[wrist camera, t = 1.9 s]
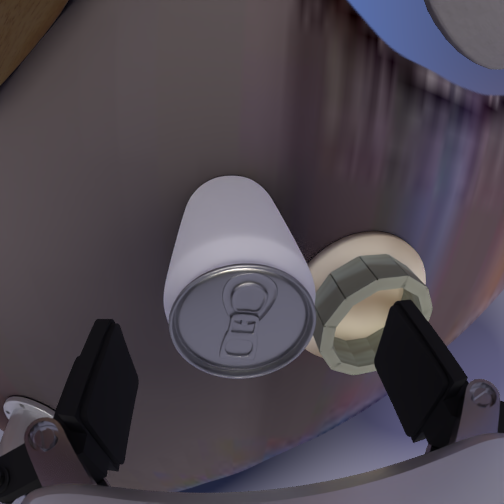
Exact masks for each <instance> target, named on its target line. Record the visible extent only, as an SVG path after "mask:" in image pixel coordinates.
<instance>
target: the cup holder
mask: <svg viewBox="0 0 504 504" xmlns="http://www.w3.org/2000/svg"><path fill="white" fill-rule="evenodd" d="M307 265H308V267H309V269H310V272H311V274H312V277H313V281H314V285H315V294H316V295H315V309H316V326H315V330H314V333H313V336H312V338H311V340H310V342H309V343H308V345H307V347H306V348H305V349H306V350H308V351H309V352H311V353H313V354H314V355H317V356H320V357H323V358H324V360H325V361H326V363H327V364H328V365H329V367H330V368H331V369H332V370H335V371H339V372H343V373H346V374H350V375H358V374H363V373H368V372H373V371H377V370H376V368H375V365H374V358H375V355H376V352H377V349H378V346H379V342H380V339H381V336H382V333H383V330H384V326H385V323H386V319H387V316H388V313H389V309H390V307H391V306H393V305H394V303H395V302H396V301H401V300H412V301H413V303H414V304H415V305H416V306H417V308H418V309H419V310H420V312H421V313H422V314H423V316H424V317H425V318H426V319H427V321H429V318H430V316H431V313H432V309H433V308H432V304H431V299H430V295H429V290H428V288H427V286H426V285H425V283H426V276H425V269H424V265H423V263H422V260H421V258H420V257H419V255H418V253H417V252H416V251H415V250H414V249H413V248H412V247H411V246H410V245H409V244H407V243H406V242H405V241H404V240H403V239H401V238H399V237H397V236H395V235H393V234H390V233H386V232H380V231H368V232H360V233H356V234H352V235H349V236H347V237H344V238H342V239H340V240H338V241H336V242H334V243H332V244H330V245H329V246H327V247H326V248H324V249H323V250H322V251H321V252H319V253H318V254H317V255H316V256H315V257H314V258H313V259H312V260H311V261H310V262H309V263H308V264H307Z"/></svg>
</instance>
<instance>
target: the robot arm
mask: <svg viewBox="0 0 504 504" xmlns="http://www.w3.org/2000/svg"><path fill="white" fill-rule="evenodd" d="M374 365H375V368H376V370H377V372H378V374H379V376H380V379H381V381H382V383H383V385H384V387H385V389H386V391H387V393H388V396H389V397H390V400H391V402H392V404H393V406H394V409H395V410H396V413H397V415H398V417H399V419H400V422H401V424H402V426H403V428H404V431H405V433H406V435H407V436H409V437H410V436H411V438H412V440H413V443H414V442H417V441H420V440H423V439H425V438H426V439H427V441H428V446H427V449H426V452H425V454H424V455H421V456H418V457H415V458H412V459H409V460H406V461H403V462H400V463H397V464H394V465H390V466H387V467H384V468H380V469H377V470H373V471H369V472H366V473H362V474H358V475H353V476H349V477H345V478H340V479H335V480H331V481H326V482H320V483H315V484H309V485H303V486H296V487H288V488H282V489H272V490H261V491H248V492H231V493H179V492H161V491H146V490H136V489H126V488H118V487H111V485H110V484H109V482H108V481H107V479H106V478H105V477H106V476H107V470H112V471H119V464H123V463H124V460H125V454H126V448H127V442H128V436H129V431H130V425H131V420H132V414H133V409H134V404H135V399H136V394H137V389H138V375H137V373H136V370H135V367H134V365H133V362H132V359H131V357H130V354H129V351H128V348H127V346H126V343H125V340H124V337H123V334H122V331H121V328H120V325H119V324H115V322H114V320H112V319H97V320H96V321H95V323H94V325H93V327H92V329H91V332H90V334H89V336H88V338H87V341H86V343H85V345H84V348H83V350H82V352H81V355H80V356H78V357H77V358H76V360H75V362H74V364H73V367H72V369H71V372H70V374H69V377H68V379H67V382H66V384H65V387H64V389H63V392H62V395H61V397H60V400H59V403H58V405H57V408H56V411H53V410H52V409H50V408H48V407H46V406H44V405H42V404H40V403H38V402H36V401H33V400H30V399H28V398H24V397H17V396H13V397H9V398H7V400H6V401H5V403H4V406H3V408H4V412H5V414H6V416H7V418H8V419H9V421H8V424H7V426H6V429H5V431H4V434H3V436H2V439H1V442H0V504H504V402H503V401H500V394H499V392H498V390H497V388H496V387H495V386H494V385H493V384H492V383H491V382H489V381H487V380H484V379H475V380H473V381H471V382H470V383H468V381H467V376H466V374H465V373H464V371H463V370H462V368H461V367H460V365H459V364H458V363H457V361H456V360H455V358H454V357H453V355H452V354H451V353H450V351H449V350H448V348H447V347H446V345H445V344H444V343H443V341H442V340H441V338H440V337H439V336H438V334H437V333H436V332H435V330H434V329H433V327H432V326H431V325H430V323H429V322H428V321H427V319H426V318H425V317H424V316H423V314H422V313H421V312H420V310H419V309H418V308H417V306H416V305H415V304H414V303H413V301H412V300H401V301H396V302H395V303H394V305H393V306H391V307H390V309H389V313H388V316H387V319H386V323H385V326H384V330H383V333H382V336H381V339H380V342H379V346H378V349H377V352H376V355H375V358H374Z"/></svg>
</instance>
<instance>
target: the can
mask: <svg viewBox="0 0 504 504" xmlns="http://www.w3.org/2000/svg"><path fill="white" fill-rule="evenodd" d="M315 295H316V294H315V285H314V281H313V277H312V274H311V272H310V269H309V267H308V265H307V263H306V261H305V259H304V257H303V255H302V253H301V251H300V249H299V247H298V245H297V243H296V242H295V240H294V238H293V236H292V234H291V232H290V230H289V229H288V227H287V225H286V223H285V221H284V219H283V218H282V216H281V214H280V212H279V211H278V209H277V207H276V205H275V204H274V202H273V200H272V199H271V197H270V195H269V194H268V193H267V192H266V190H265V189H264V188H263V187H261V186H260V185H259V184H258V183H256V182H255V181H253V180H251V179H249V178H246V177H242V176H222V177H217V178H214V179H211V180H209V181H207V182H206V183H204V184H203V185H201V186H200V187H199V188H198V189H197V190H196V191H195V192H194V193H193V195H192V196H191V198H190V199H189V201H188V203H187V206H186V208H185V211H184V214H183V218H182V221H181V224H180V228H179V231H178V235H177V239H176V242H175V246H174V250H173V253H172V257H171V261H170V265H169V269H168V273H167V278H166V283H165V288H164V310H165V314H166V318H167V320H168V323H169V333H170V337H171V340H172V342H173V344H174V346H175V348H176V350H177V351H178V352H179V354H180V355H181V356H182V357H183V358H184V359H185V360H186V361H187V362H188V363H190V364H191V365H193V366H194V367H196V368H197V369H199V370H201V371H203V372H206V373H208V374H211V375H215V376H219V377H224V378H233V379H243V378H253V377H258V376H262V375H266V374H269V373H272V372H274V371H276V370H279V369H281V368H282V367H284V366H286V365H287V364H289V363H290V362H292V361H293V360H294V359H295V358H297V357H298V356H299V355H300V354H301V353H302V352H303V350H304V349H305V348H306V347H307V345H308V343H309V342H310V340H311V338H312V336H313V333H314V330H315V326H316V309H315Z"/></svg>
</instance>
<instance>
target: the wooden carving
mask: <svg viewBox="0 0 504 504" xmlns="http://www.w3.org/2000/svg"><path fill="white" fill-rule="evenodd" d="M68 1H69V0H0V86H1V85H2V83H3V82H4V81H5V80H6V79H7V78H8V77H9V76H10V75H11V73H12V72H13V71H14V70H15V69H16V68H17V67H18V66H19V65H20V63H21V62H22V61H23V60H24V59H25V58H26V56H27V55H28V54H29V53H30V52H31V50H32V49H33V48H34V47H35V46H36V44H37V43H38V42H39V41H40V39H41V38H42V37H43V36H44V35H45V33H46V32H47V31H48V29H49V28H50V27H51V25H52V24H53V23H54V22H55V20H56V19H57V17H58V16H59V15H60V13H61V12H62V10H63V8H64V7H65V5H66V4H67V2H68Z"/></svg>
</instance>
